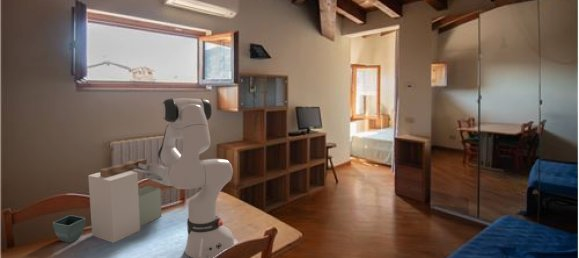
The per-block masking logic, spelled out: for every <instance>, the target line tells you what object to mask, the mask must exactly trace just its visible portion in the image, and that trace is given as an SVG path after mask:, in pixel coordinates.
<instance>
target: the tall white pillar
mask: <svg viewBox="0 0 579 258" xmlns="http://www.w3.org/2000/svg"><path fill="white" fill-rule="evenodd" d="M138 173H139V171H134V170H130V171H126V172H123V173H119V174H116V175H113V176H109V177H102V176H100V171H99V172H96V173H92V174H89V175H87V178H88V190H89V191H88V194H89V207H90V220H91V221H90V222H91V235H92V236H93V237H96V238H98V239H101V240H104V241H107V242H110V243H112V244H114V243H117V242H118V241H121V240H123V239H125V238H127V237H129V236H131V235H133V234H135V233H137V232H140V231H141V226H140V218H139V194H138V189H139V174H138Z"/></svg>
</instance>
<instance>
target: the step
mask: <svg viewBox="0 0 579 258" xmlns="http://www.w3.org/2000/svg"><path fill="white" fill-rule="evenodd" d="M161 193H162V192H161V188H160V187H156V186H153V185H146V186H144V187H142V188H138V194H139V218H140V227H143V226H145V225H146V224H148V223H151V222H152V221H155V220H157V219H159V218H161V217H162V199H161V198H162V194H161Z"/></svg>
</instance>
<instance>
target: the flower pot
mask: <svg viewBox="0 0 579 258" xmlns="http://www.w3.org/2000/svg"><path fill="white" fill-rule="evenodd" d="M85 222H86V218H85V217H83V216H77V215H72V214H69V215H66V216H65V217H63V218H61V219H58V220H56V221H53V222H52V225H53V230H54V234H55V235H56V237H57V238H58V239H59V240H60V241H62V242H65V243H73V242H74V241H76V240H78V239H80V238H81V236H82V234H83V232H84V230H85Z"/></svg>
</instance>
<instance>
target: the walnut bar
mask: <svg viewBox="0 0 579 258" xmlns="http://www.w3.org/2000/svg"><path fill="white" fill-rule="evenodd" d="M129 161H130V162H129ZM129 161H127V162H124V163H123V162H122V163H120V164H116V165H112V166H108V167H104V168H100V170H99V172H100V176H102V177H109V176H113V175H116V174H119V173H123V172H126V171H134V170H133V169H137V168H140V167H137V163H141V164H144V165H145V164H148V163H147V162H148V161H147V159H145V158H138V159H133V160H129Z"/></svg>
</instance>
